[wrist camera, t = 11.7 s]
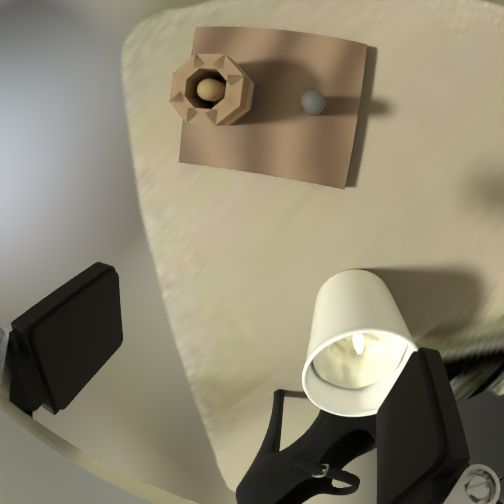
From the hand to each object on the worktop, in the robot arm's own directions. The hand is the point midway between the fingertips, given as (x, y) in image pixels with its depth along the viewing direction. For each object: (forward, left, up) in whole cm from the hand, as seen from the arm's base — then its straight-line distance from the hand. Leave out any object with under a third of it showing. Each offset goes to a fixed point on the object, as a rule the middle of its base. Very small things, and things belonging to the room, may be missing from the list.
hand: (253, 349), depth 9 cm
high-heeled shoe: (-9, +24, -23) cm, 35 cm away
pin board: (+4, -8, -23) cm, 25 cm away
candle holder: (-8, +11, -23) cm, 27 cm away
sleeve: (+8, -8, -22) cm, 25 cm away
